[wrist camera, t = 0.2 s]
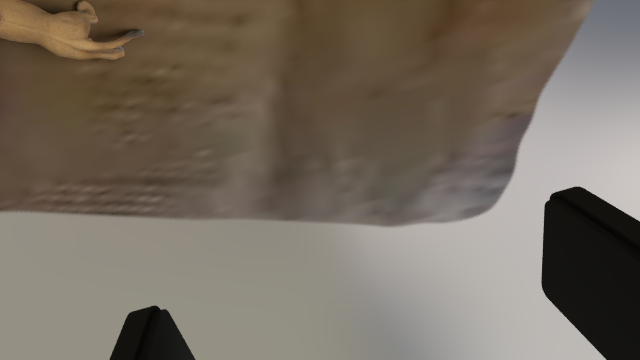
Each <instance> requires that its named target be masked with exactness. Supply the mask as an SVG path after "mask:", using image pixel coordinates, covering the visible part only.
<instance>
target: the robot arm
mask: <svg viewBox="0 0 640 360" xmlns="http://www.w3.org/2000/svg"><path fill="white" fill-rule="evenodd" d="M542 288H543V291H544V293H545V295H546V297H547V298H548V299H549V300H550V301H551V302H552V303H553V304H554V305H555V306H556V307H557V308H558V309H559V311H560V312H562V314H563V315H564V316H565V317H566V318H567V319H568V320H569V321H570V322H571V323H572V324H573V325H574V326H575V327H576V328H577V329H578V330H579V331H580V332H581V333H582V335H584V336H585V338H586V339H587V340H588V341H589V342H590V343H591V344H592V345H593V346H594V347H595V348H596V349H597V350H598V351H599V352H600V353H601V354H602V355H603V356H604V357H605V358H606V360H640V221H638V220H636V219H635V218H633V217H631V216H629V215H628V214H626V213H624V212H623V211H621V210H619V209H618V208H616V207H614V206H613V205H611V204H609V203H607V202H606V201H604V200H602V199H601V198H599V197H597V196H596V195H594V194H592V193H591V192H589V191H587V190H586V189H584V188H581V187H573V188H569V189H566V190H562V191H558V192H555V193H553V194H552V195H551V196H550V200H549V201H547V202H546V204H545V211H544V234H543V258H542ZM110 360H195V358H194V356H193V354H192V353H191V351H190V349H189V347H188V346H187V344H186V342H185V340H184V339H183V337H182V335H181V333H180V331H179V330H178V328H177V326H176V324H175V322H174V321H173V319H172V317H171V315H170V313H169V312H168V311H167V310H165V309H163V310H160V308H159V307H157V306H151V307H148V308H144V309H141V310H137V311H133V312H131V313H129V314H128V316H127V318H126V320H125V323H124V325H123V328H122V330H121V333H120V335H119V338H118V340H117V343H116V345H115V348H114V350H113V352H112V355H111V357H110Z"/></svg>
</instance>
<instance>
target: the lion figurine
mask: <svg viewBox="0 0 640 360" xmlns="http://www.w3.org/2000/svg"><path fill="white" fill-rule="evenodd" d="M97 22H98V18H97V17H96V15H95V11H94V9H93V7H92V6H91V5H90V4H89V3H88V2H86V1H81V2H79V3H78V5H77V11H67V12H60V13H57V14H50V13H47V12H46V11H44V10H42V9H40V8H39V7H37V6H35V5H33V4H31V3H28V2H25V1H21V0H0V38H3V39H6V40H10V41H16V42H24V43H35V44H39V45H41V46H43V47H44V48H46V49H48V50H49V51H51V52H52V53H54V54H56V55H58V56H61V57H67V58H73V59H77V60H85V59H90V58H106V59H111V60H114V59H117V58H122V57H123V56H124V54H125V52H124V49H123V48H122V47H121V45H123V44H125V43H126V42H128V41H129V40H131V39H137V38H139V37H142V36H143V35H144V31H143V30H136V31H130V32H129V33H127V34H126V35H124V36H123V37H121V38H119V39H117V40H113V41H109V42H94V41H92V39H90V38H89V37H88V35H89V32H90V24H91V23H97Z"/></svg>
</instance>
